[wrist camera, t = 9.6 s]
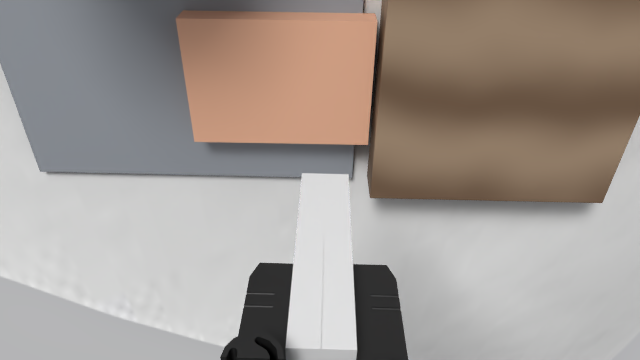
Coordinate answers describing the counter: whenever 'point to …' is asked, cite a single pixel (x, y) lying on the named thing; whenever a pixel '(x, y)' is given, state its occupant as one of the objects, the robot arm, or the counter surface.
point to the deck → (503, 99)
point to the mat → (133, 90)
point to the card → (278, 76)
